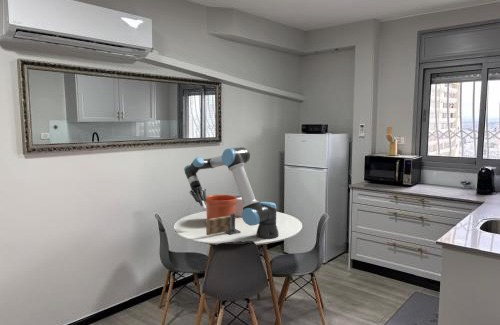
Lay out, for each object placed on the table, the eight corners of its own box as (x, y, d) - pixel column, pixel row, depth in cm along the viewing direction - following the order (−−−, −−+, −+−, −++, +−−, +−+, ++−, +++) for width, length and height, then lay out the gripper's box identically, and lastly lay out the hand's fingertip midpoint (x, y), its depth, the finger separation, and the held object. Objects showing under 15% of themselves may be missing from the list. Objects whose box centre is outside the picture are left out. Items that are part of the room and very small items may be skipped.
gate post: (234, 230, 263) (234, 211, 262) (240, 232, 256) (240, 213, 255) (224, 231, 258) (224, 213, 257) (230, 234, 252) (230, 215, 251)
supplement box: (244, 217, 299) (244, 199, 298) (234, 216, 304) (235, 198, 302) (249, 215, 307) (250, 197, 305) (240, 214, 311) (241, 196, 310)
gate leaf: (229, 230, 257) (229, 215, 256) (230, 230, 255) (231, 216, 254) (206, 234, 246) (206, 219, 245) (207, 235, 245) (207, 219, 244)
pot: (212, 216, 302) (212, 193, 300) (240, 218, 295) (240, 195, 293) (199, 224, 278) (199, 199, 276) (230, 227, 271) (230, 201, 269)
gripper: (200, 185, 280) (211, 210, 268) (185, 186, 273) (195, 213, 261) (203, 179, 275) (214, 205, 263) (188, 180, 268) (198, 207, 256)
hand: (205, 209), depth 262 cm, fingers closed
